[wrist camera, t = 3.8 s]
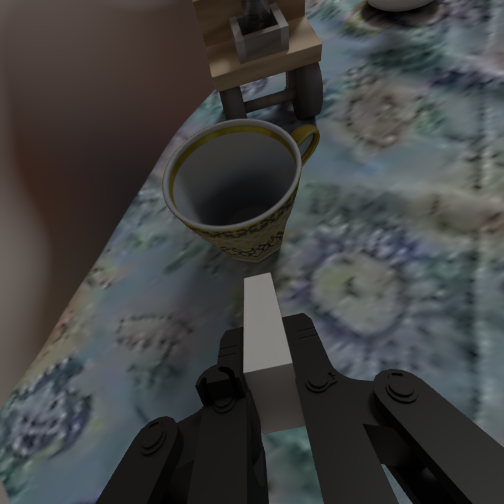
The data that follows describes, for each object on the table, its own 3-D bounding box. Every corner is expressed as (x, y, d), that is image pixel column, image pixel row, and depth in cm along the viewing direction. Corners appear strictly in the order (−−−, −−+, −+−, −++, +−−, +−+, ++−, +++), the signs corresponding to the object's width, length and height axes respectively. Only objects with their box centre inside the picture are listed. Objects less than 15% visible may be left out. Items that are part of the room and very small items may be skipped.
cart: (322, 124, 30) (336, 1, 20) (232, 149, 31) (200, 44, 21) (301, 80, 35) (302, -40, 24) (222, 103, 36) (192, -2, 25)
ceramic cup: (237, 299, 23) (198, 260, 14) (193, 228, 27) (142, 163, 18) (344, 226, 24) (372, 147, 15) (285, 169, 28) (280, 81, 19)
